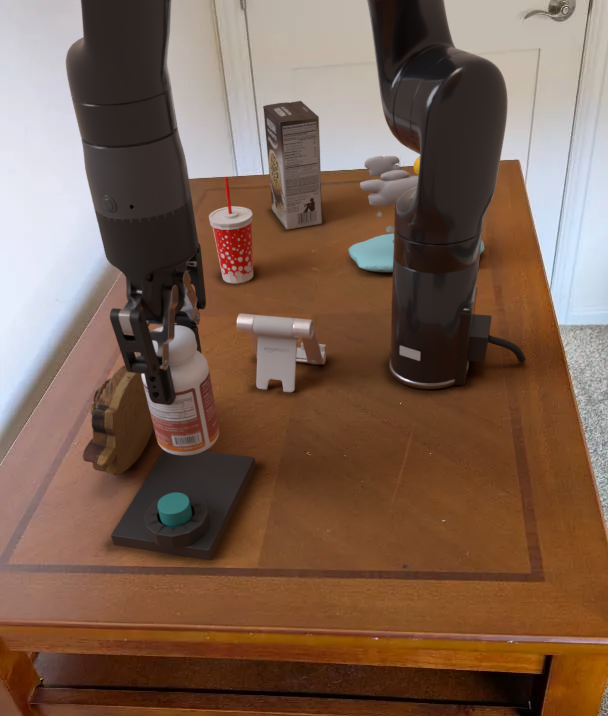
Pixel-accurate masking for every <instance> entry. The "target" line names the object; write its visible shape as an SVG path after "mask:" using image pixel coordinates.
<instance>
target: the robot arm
mask: <svg viewBox="0 0 608 716" xmlns="http://www.w3.org/2000/svg"><path fill="white" fill-rule="evenodd" d="M366 3H367V7H368V14H369V19H370V26H371V33H372V39H373V40H372V42H373V48H374V56H375V63H376V71H377V72H376V73H377V79H378V80H377V81H378V88H379V93H380V101H381V106H382V107H381V108H382V112H383V116H384V120H385V122H386V125H387V127H388V129H389V131H390V133H391V134H392V135H393V137H394V138H395V139H396V141H398V142H399V143H400V144H401V145H402V146H404V147H406V148H407V149H409V150H411V151H413V152H414V153H416V154H419V156H420V164H419V174H418V175H417V176H418V183H417V187H416V188H413V189H410V190H408V191H406V192H405V193H403V194H402V195H401V196H400V197H399V198H398V200H397V202H396V203H395V206H394V218H393V219H394V221H393V227H394V228H393V231H394V232H393V234H394V251H393V272H392V284H391V285H392V287H391V289H392V290H391V321H390V322H391V323H390V324H391V326H390V350H389V357H390V358H389V369H388V370H389V372H390V374H391V376H392V377H393V378H394V379H395V380H396V381H398V382H399V383H400V384H403V385H405V386H408V387H411V388H415V389H421V390H439V389H440V390H441V389H445V388H449V387H452V386H464V385H465V383H466V378H467V375H468V372H469V366H470V365H469V364H470V361H472V362H483V363H485V362H486V357H487V351H488V346H489V344H492V345H494V346H498V347H502V348H505V349H507V350H509V351H511V352H512V353H513V354H514V355H515V357H516V359H517V361H518V362H519V364H522V363H525V362H526V360H527V359H526V356H525V354H524V352H523V349H521V348H520V346H518V345H517V344H515V343H514V342H512V341H509V340H506V339H503V338H500V337H497V336H493V335H491V334H490V332H491V325H492V317H493V315H488V314H476V306H477V297H478V296H477V295H478V286H477V284H478V275H479V264H480V256H481V254H480V248H481V239H482V237H483V228H484V220H485V215H486V213H487V211H488V209H489V207H490V205H491V203H492V201H493V199H494V194H495V192H496V187H497V182H498V175H499V171H500V164H501V158H502V152H503V147H504V139H505V133H506V128H507V118H508V100H509V99H508V89H507V84H506V81H505V77H504V75H503V73H502V71H501V70H500V68H499V67H498V66H497V64H495V63H494V62H492V61H491V60H489V59H487V58H485V57H482V56H480V55H477V54H474V53H471V52H469V51H466V50H462V49H459V48H457V47H456V46H455V43H454V41H453V38H452V34H451V30H450V26H449V21H448V16H447V11H446V4H445V0H366ZM80 7H81V21H82V36H83V37H80V38H79V39H76V40H75V42H73V43H72V44H71V45H70V46H69V48H68V49H67V52H66V55H65V70H66V77H67V83H68V88H69V92H70V97H71V101H72V105H73V110H74V114H75V118H76V123H77V127H78V131H79V136H80V138H81V139H80V140H81V145H82V150H83V151H82V152H83V162H84V169H85V174H86V180H87V184H88V188H89V192H90V197H91V201H92V205H93V209H94V213H95V217H96V222H97V225H98V229H99V234H100V238H101V242H102V246H103V247H102V248H103V250H104V255H105V258H106V260H107V261H108V262H109V264H110V265H111V266H113V267H114V268H116V269H117V270H119V271H120V272H121V273H122V274H123V275H124V277H125V284H126V285H125V286H126V288H125V290H126V293H125V294H126V300H127V302H126V304H125V305H124V307H123V308H116V307H112V308H111V310H110V312H109V321H110V323H111V326H112V330H113V333H114V336H115V339H116V341H117V345H118V348H119V351H120V354H121V358H122V360H123V363H124V366H126V369H127V371H128V372H132V373H142V374H144V375H145V379H146V384H147V388H148V392H149V397H150V400H151V401H152V402H153V403H156V404H164V405H171V404H173V402H174V400H175V399H176V395H175V390H174V385H173V380H172V375H171V370H170V365H168V364H169V343H170V342H171V341H172V340H173V339H174V336H175V325H180V326H185V327H187V328H190V329H191V330H192V331H193V332H194V334H195V338H196V343H197V351H199V352H200V353H201V354H202V355H203V352H202V345H201V341H200V340H201V339H200V334H199V333H200V332H199V328H198V325H200V322H201V313H200V310H205V308H206V306H207V297H206V286H205V277H204V267H203V258H202V257H203V256H202V247H201V244H200V243H199V238H198V230H197V223H196V218H195V217H196V216H195V212H194V211H195V210H194V204H193V197H192V192H191V186H190V184H191V183H190V178H189V171H188V165H187V160H186V155H185V151H184V147H183V143H182V141H181V137H180V136H181V135H180V133H179V128H178V123H177V122H178V121H177V114H176V108H175V101H174V96H173V90H172V81H171V77H170V72H169V65H168V54H169V45H170V37H171V36H170V35H171V19H172V18H171V17H172V0H80ZM482 240H483V239H482ZM193 286H194V287H193ZM150 325H157V326H162V327H163V329H162V331H153V330H154V329H150V328H149V327H150ZM152 340H153V341H156V342H157V343H158V355H156V352H155V348H154V345H153V341H152Z"/></svg>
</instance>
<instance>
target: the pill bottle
mask: <svg viewBox="0 0 608 716" xmlns="http://www.w3.org/2000/svg"><path fill="white" fill-rule="evenodd" d="M162 329H163V326H160V327H156V328H154V329H152V330H153V331H162ZM152 341H153V340H152ZM153 345H154V348H155V352H156V355H158V343H157V342H156V341H153ZM168 365H170V370H171V375H172V380H173V385H174V390H175V395H176V399H175V400H174V402H173V404H171V405H164V404H156V403H153V402H152V401H151V400H150V397H149V392H148V388H147V384H146V379H145V375H144V374H142V373H141V376H142V381H143V385H144V389H145V393H146V397H147V401H148V405H149V410H150V414H151V418H152V422H153V426H154V427H153V430H154V434H155V438H156V442H157V444H158V446H159V447H160V448H161V450H163V451H166V452H168V453H171V454H174V455H181V456H186V455H194V454H198V453H201V452H203V451H208V449H210V448H211V447H212V446H213V445H215V444H216V442H217V440H218V438H219V436H220V425H219V420H218V412H217V408H216V402H215V396H214V391H213V385H212V379H211V373H210V368H209V364H208V361H207V358H206V357H205V356H204V354H203V353H202V354H201V353H200V352H199V351H197V343H196V338H195V334H194V332H193V331H192V330H191V329H190V328H187V327H185V326H180V325H175V336H174V339H173V340H172V341H171V342H170V343H169V364H168Z"/></svg>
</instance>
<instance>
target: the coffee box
mask: <svg viewBox="0 0 608 716" xmlns="http://www.w3.org/2000/svg"><path fill="white" fill-rule="evenodd" d="M262 108H263V118H264V130H265V131H264V132H265V140H266V151H267V163H268V175H269V176H268V177H269V186H270V199H271V210H272V212H273V213H274V214H275V215H276V217H277V218H278V220H279V221H280V222H281V224H282V225H283V227H284V228H285V229H286V230H295V229H299V228H305V227H310V226H311V227H312V226H317V225H321V224H323V210H322V208H323V207H322V175H321V173H322V171H321V141H320V139H321V138H320V117H319V116H318V114H316V113H315V112H314V111H313V110H312V109H311V108H309V107H308V106H307V105H306V104H305V103H304V102H303V101H302V100H297V101H291V102H287V101H286V102H276V103H271V104H266V105H263V106H262Z"/></svg>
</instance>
